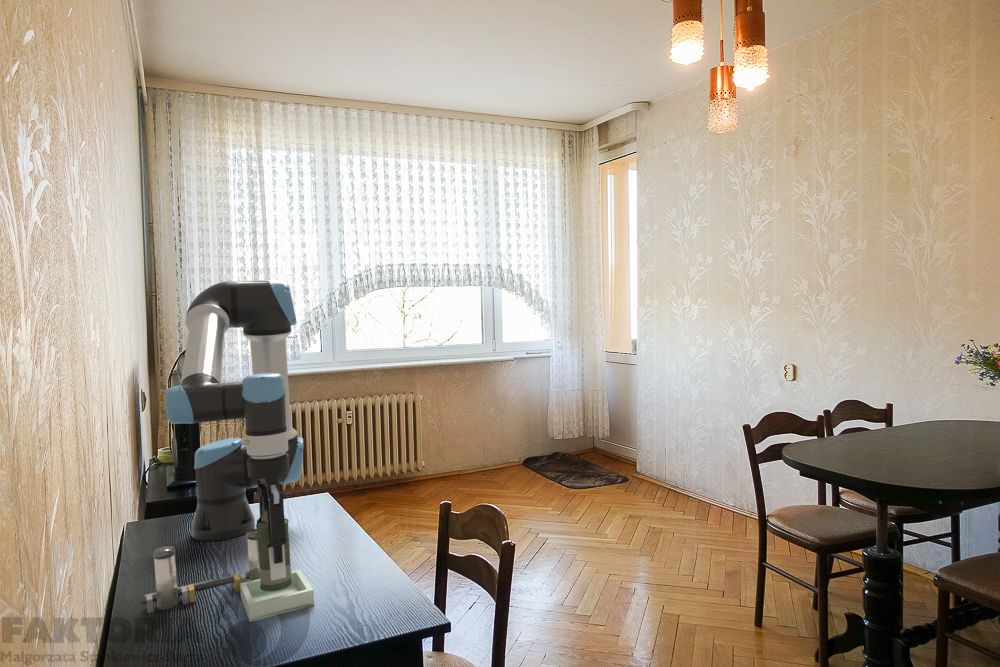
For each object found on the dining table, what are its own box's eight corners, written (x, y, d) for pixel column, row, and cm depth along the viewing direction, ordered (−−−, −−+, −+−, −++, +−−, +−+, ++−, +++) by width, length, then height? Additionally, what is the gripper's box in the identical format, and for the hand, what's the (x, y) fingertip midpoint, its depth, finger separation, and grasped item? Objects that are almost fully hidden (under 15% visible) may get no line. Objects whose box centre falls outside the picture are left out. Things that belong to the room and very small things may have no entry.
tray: (241, 598, 128) (240, 583, 128) (300, 583, 134) (300, 569, 134) (249, 622, 118) (248, 606, 118) (314, 605, 124) (313, 589, 124)
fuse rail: (144, 599, 129) (140, 545, 129) (274, 569, 142) (271, 520, 141) (144, 614, 123) (140, 557, 122) (281, 581, 135) (278, 529, 135)
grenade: (299, 581, 127) (294, 505, 126) (274, 593, 121) (269, 515, 121) (277, 575, 130) (272, 501, 129) (251, 587, 125) (246, 510, 124)
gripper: (240, 448, 131) (247, 560, 132) (255, 467, 114) (263, 595, 115) (278, 443, 135) (285, 552, 136) (298, 460, 118) (306, 584, 119)
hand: (275, 572), depth 126 cm, fingers closed on grenade, 6 cm apart
